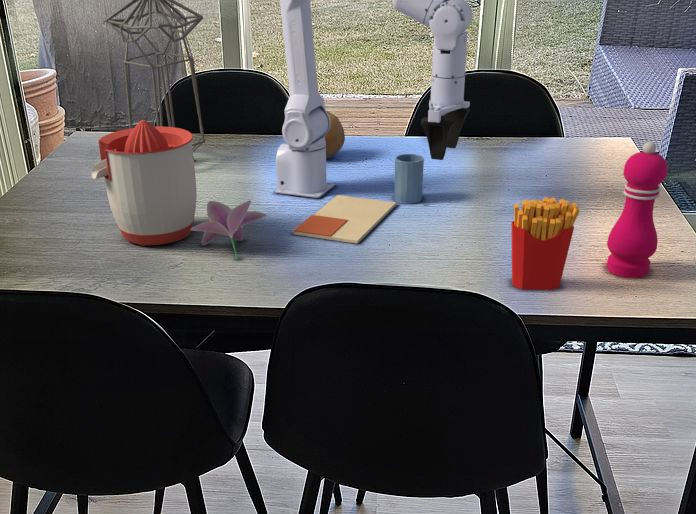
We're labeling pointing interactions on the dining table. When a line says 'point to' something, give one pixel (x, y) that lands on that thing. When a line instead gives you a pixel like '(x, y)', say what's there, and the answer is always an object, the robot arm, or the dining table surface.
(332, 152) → the onion
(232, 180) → the dining table surface
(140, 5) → the geometric lantern
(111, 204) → the citrus juicer
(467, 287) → the dining table surface
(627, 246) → the pepper mill
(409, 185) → the tumbler
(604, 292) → the dining table surface
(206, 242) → the lily
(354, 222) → the cutting board
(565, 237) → the french fries
